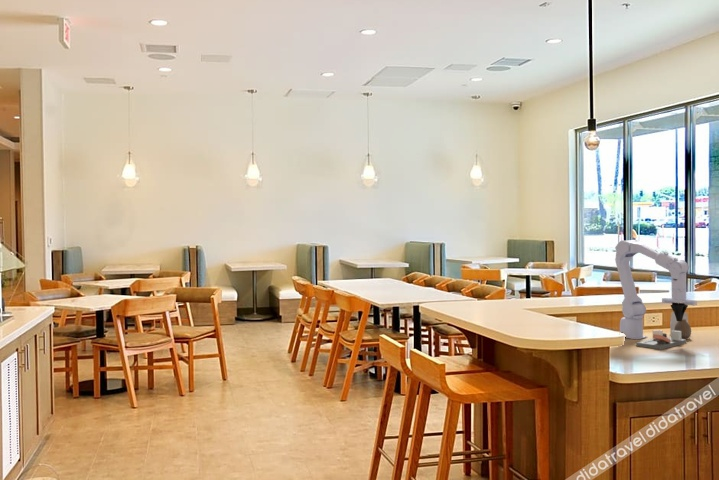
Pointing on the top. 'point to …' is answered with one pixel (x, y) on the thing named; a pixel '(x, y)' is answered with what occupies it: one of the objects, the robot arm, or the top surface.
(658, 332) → the slotted cream block
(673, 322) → the grey rectangular block
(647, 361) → the top surface
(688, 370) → the top surface
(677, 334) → the slotted white box
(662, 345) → the console
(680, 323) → the vase
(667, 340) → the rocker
